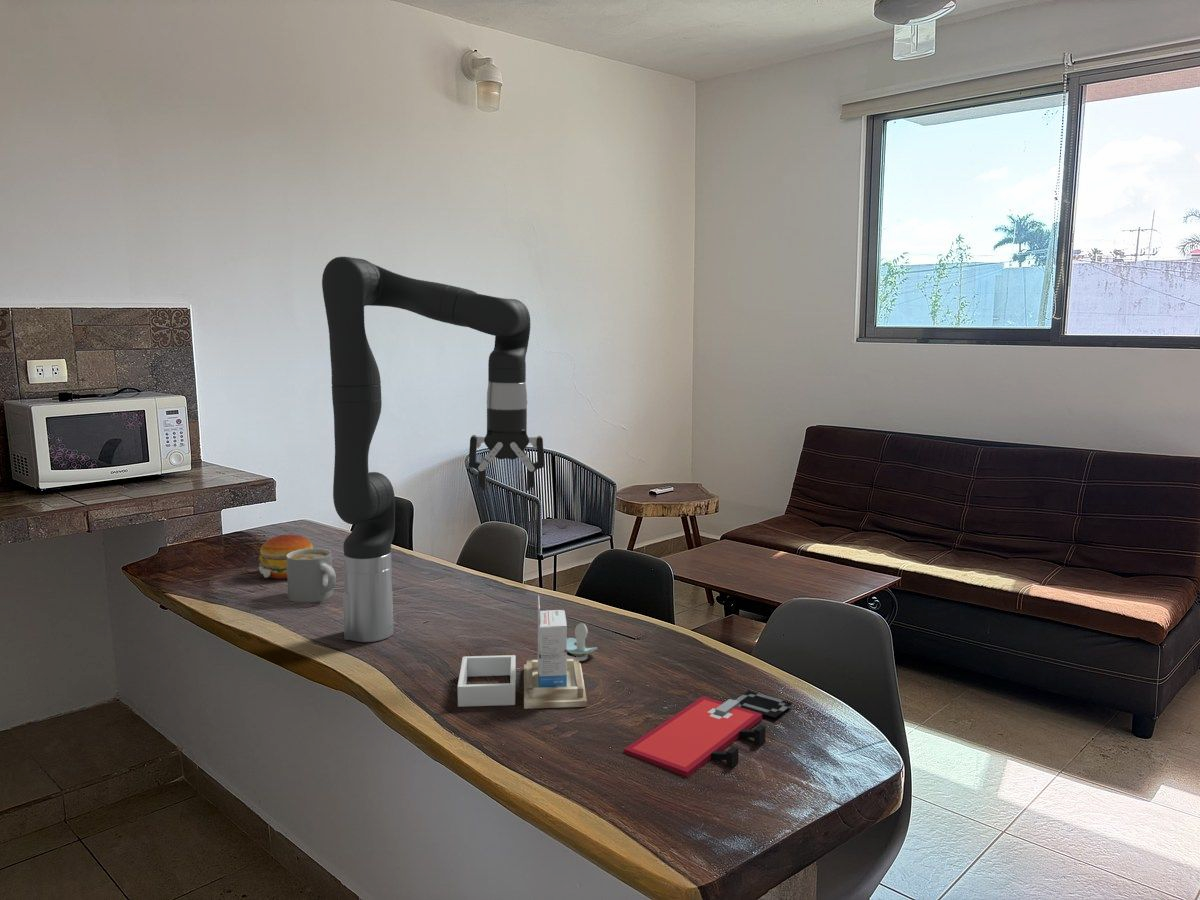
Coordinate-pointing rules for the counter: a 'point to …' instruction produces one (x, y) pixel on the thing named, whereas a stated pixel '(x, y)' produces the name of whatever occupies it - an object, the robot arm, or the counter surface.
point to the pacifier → (579, 644)
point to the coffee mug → (310, 575)
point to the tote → (487, 692)
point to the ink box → (552, 648)
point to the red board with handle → (706, 732)
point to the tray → (554, 688)
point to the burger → (280, 554)
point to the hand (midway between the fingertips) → (506, 489)
